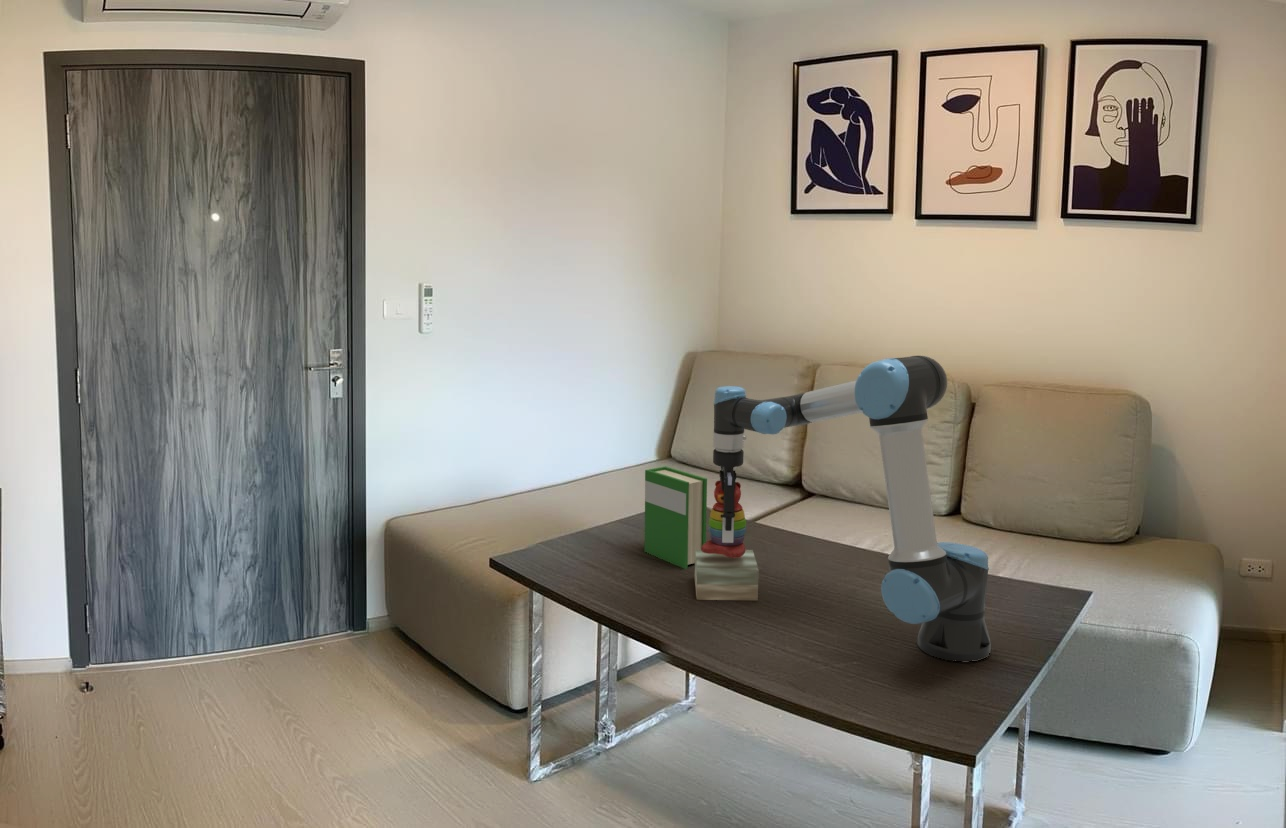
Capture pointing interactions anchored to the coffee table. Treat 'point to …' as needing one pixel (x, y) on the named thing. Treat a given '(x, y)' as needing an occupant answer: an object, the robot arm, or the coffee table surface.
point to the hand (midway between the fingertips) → (726, 535)
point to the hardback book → (674, 515)
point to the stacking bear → (716, 525)
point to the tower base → (726, 592)
